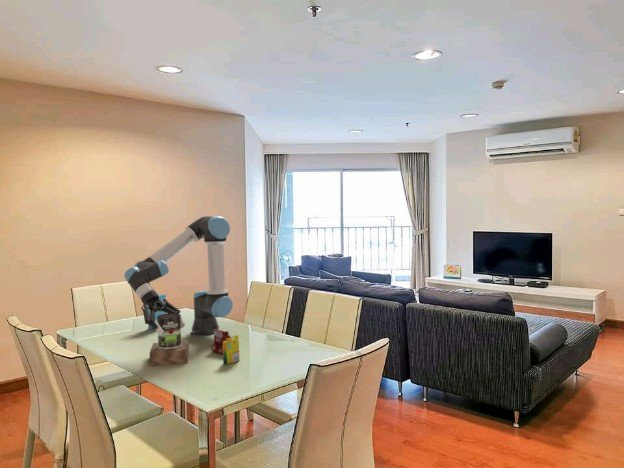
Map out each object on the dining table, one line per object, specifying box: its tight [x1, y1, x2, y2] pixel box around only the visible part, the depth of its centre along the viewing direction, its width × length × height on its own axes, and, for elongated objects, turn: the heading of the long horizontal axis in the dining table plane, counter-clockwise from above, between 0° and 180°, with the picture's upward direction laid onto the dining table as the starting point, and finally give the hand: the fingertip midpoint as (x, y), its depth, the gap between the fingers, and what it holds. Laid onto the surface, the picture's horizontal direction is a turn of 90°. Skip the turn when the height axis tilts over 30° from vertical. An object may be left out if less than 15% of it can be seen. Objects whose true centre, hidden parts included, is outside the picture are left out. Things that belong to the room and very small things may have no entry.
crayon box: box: [222, 334, 240, 365], centre depth 207 cm, size 7×3×12 cm, turn 141°
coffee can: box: [157, 313, 182, 349], centre depth 212 cm, size 10×10×14 cm
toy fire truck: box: [210, 329, 231, 356], centre depth 221 cm, size 7×12×10 cm, turn 50°
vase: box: [147, 292, 168, 330], centre depth 269 cm, size 8×8×20 cm
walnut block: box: [149, 339, 190, 367], centre depth 212 cm, size 16×16×6 cm
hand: (173, 330), depth 211 cm, fingers open, 13 cm apart
